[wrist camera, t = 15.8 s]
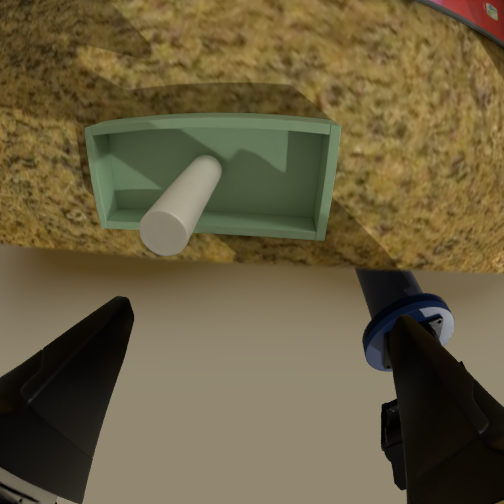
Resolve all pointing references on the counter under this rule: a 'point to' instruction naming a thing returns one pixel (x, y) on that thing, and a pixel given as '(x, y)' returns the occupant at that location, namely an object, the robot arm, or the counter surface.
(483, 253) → the counter surface
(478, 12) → the tablet
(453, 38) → the counter surface
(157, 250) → the stylus
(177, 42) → the counter surface
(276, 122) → the tray
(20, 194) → the counter surface
